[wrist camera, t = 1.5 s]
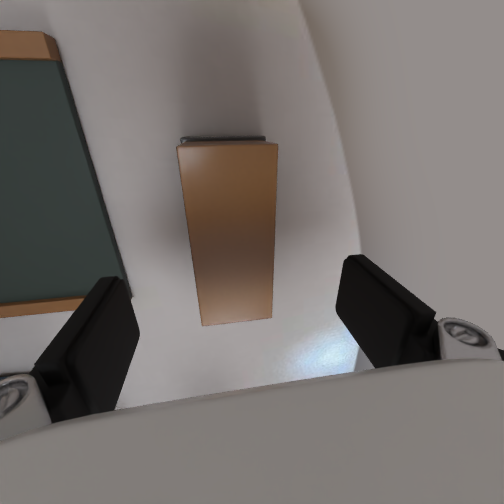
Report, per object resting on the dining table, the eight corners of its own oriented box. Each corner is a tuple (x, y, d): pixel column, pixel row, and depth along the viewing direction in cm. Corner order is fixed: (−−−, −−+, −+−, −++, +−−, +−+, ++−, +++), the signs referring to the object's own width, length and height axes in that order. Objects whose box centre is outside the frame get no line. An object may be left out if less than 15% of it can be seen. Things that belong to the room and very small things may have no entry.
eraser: (182, 137, 15) (170, 140, 10) (262, 135, 15) (283, 138, 11) (201, 284, 20) (199, 329, 15) (261, 279, 20) (275, 320, 16)
